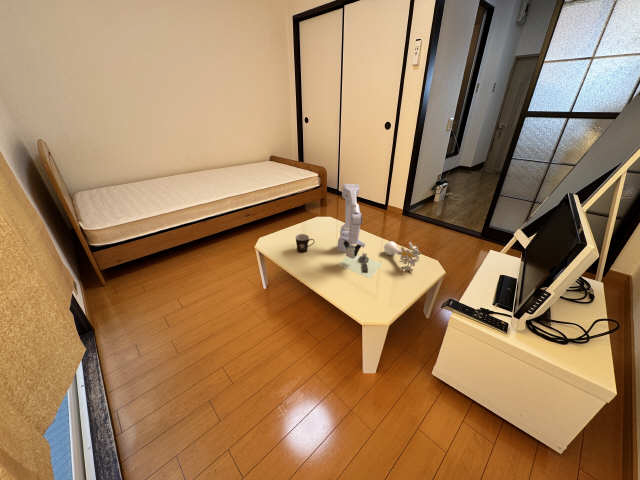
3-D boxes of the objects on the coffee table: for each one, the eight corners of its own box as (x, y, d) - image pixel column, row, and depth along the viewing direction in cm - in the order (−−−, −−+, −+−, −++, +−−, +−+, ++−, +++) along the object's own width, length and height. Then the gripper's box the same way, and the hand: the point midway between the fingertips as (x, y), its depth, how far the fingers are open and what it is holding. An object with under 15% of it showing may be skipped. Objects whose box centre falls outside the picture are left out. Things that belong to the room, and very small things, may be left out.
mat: (337, 265, 150) (337, 264, 149) (351, 252, 163) (351, 252, 163) (370, 278, 139) (370, 278, 139) (382, 264, 152) (382, 263, 152)
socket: (345, 256, 148) (346, 247, 145) (349, 252, 151) (350, 244, 148) (353, 258, 145) (354, 250, 142) (357, 255, 149) (358, 246, 146)
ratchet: (370, 272, 143) (371, 266, 141) (360, 272, 144) (361, 265, 141) (368, 258, 157) (368, 252, 155) (358, 257, 157) (359, 251, 155)
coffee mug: (293, 252, 161) (293, 238, 156) (299, 246, 168) (299, 233, 163) (309, 256, 158) (309, 242, 153) (314, 249, 165) (315, 236, 160)
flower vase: (382, 263, 165) (407, 276, 143) (378, 238, 159) (403, 248, 137) (398, 256, 169) (425, 268, 146) (394, 231, 163) (422, 240, 140)
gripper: (339, 232, 141) (337, 252, 148) (362, 240, 134) (359, 260, 141) (345, 228, 147) (343, 247, 153) (367, 235, 140) (364, 255, 146)
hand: (351, 253), depth 148 cm, fingers closed on socket, 5 cm apart
